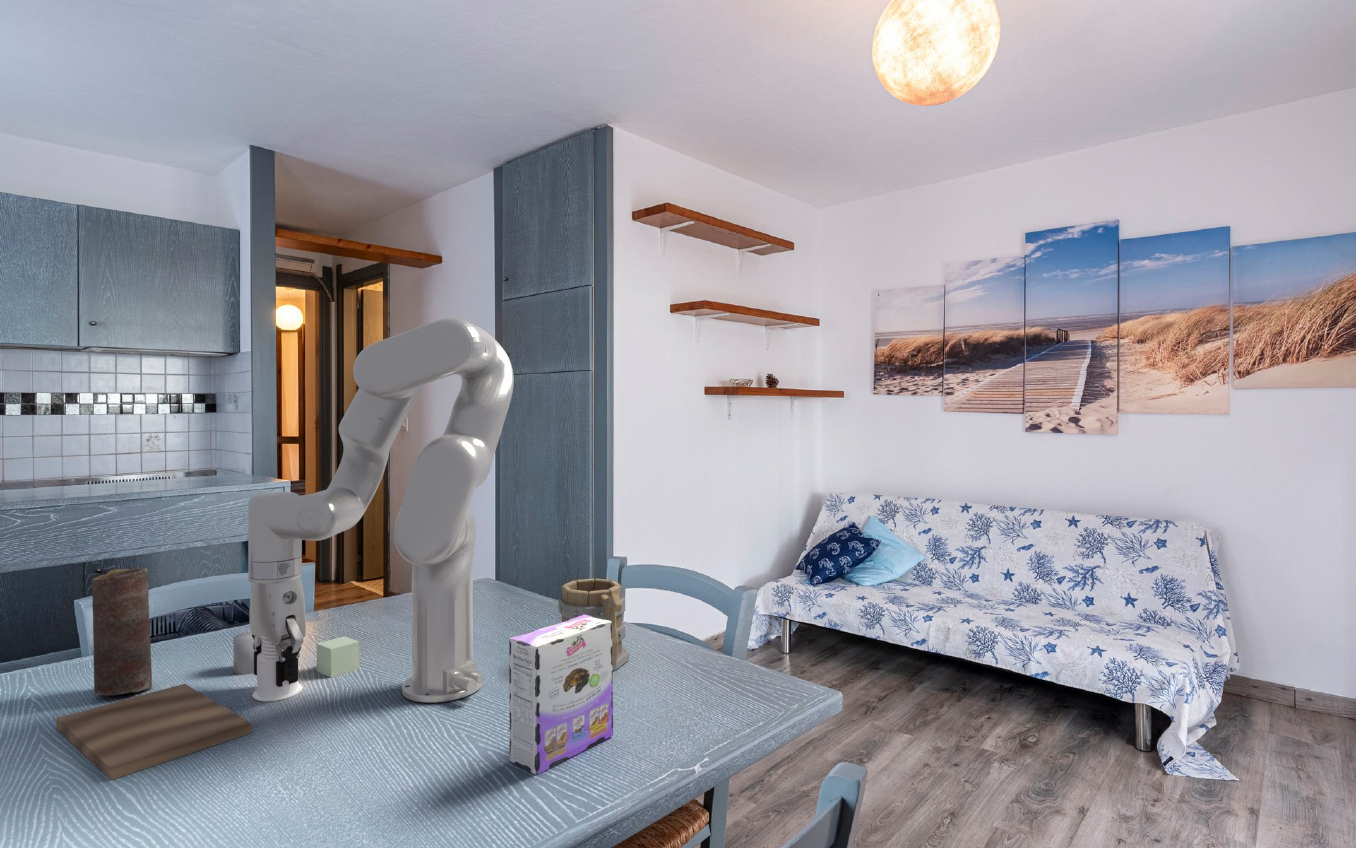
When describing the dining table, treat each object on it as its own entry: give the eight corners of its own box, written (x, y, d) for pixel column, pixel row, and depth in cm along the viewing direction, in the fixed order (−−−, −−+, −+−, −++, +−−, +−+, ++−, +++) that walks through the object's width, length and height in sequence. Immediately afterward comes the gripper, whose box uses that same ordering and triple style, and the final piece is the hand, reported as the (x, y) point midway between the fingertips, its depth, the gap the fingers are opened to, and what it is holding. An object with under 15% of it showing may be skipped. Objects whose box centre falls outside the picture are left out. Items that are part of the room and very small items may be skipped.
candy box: (585, 725, 103) (585, 612, 103) (614, 737, 99) (614, 620, 99) (507, 761, 92) (507, 636, 92) (536, 776, 88) (536, 645, 88)
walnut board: (250, 733, 100) (250, 722, 100) (111, 780, 88) (110, 768, 88) (185, 693, 115) (184, 683, 115) (56, 728, 102) (56, 718, 102)
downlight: (246, 692, 115) (246, 631, 115) (293, 680, 120) (293, 622, 120) (260, 708, 109) (260, 645, 109) (309, 695, 114) (309, 634, 114)
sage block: (359, 669, 125) (359, 641, 125) (331, 678, 121) (331, 649, 121) (344, 663, 128) (344, 636, 128) (316, 671, 124) (316, 643, 124)
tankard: (549, 655, 133) (549, 575, 132) (614, 646, 138) (614, 569, 137) (577, 694, 114) (577, 601, 114) (651, 682, 119) (651, 593, 119)
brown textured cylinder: (118, 704, 110) (116, 576, 110) (80, 700, 112) (78, 574, 111) (163, 686, 118) (161, 566, 117) (127, 682, 119) (125, 564, 119)
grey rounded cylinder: (271, 668, 126) (271, 634, 126) (241, 676, 122) (240, 642, 122) (259, 662, 129) (258, 629, 129) (228, 670, 125) (228, 636, 125)
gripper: (325, 572, 112) (326, 684, 113) (275, 558, 123) (275, 660, 123) (276, 581, 106) (276, 699, 107) (227, 565, 117) (227, 673, 117)
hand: (275, 677), depth 115 cm, fingers closed on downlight, 7 cm apart
